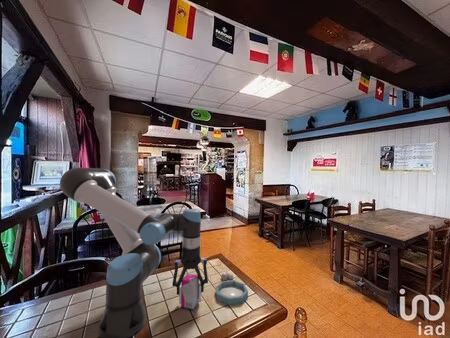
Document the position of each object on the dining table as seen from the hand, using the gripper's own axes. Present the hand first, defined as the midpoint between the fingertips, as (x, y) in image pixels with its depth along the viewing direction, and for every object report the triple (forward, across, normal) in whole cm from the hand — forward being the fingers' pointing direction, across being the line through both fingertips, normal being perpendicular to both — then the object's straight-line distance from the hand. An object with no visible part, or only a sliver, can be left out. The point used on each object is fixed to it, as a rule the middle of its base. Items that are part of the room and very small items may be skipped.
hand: (190, 300), depth 82 cm
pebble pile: (+2, +20, +18) cm, 27 cm away
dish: (+2, +19, +4) cm, 19 cm away
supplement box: (+2, 0, 0) cm, 2 cm away
